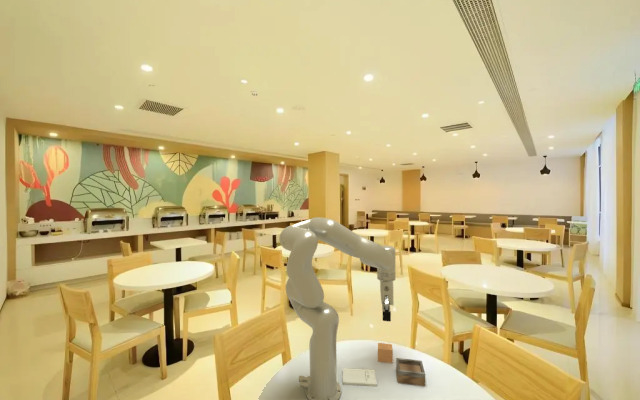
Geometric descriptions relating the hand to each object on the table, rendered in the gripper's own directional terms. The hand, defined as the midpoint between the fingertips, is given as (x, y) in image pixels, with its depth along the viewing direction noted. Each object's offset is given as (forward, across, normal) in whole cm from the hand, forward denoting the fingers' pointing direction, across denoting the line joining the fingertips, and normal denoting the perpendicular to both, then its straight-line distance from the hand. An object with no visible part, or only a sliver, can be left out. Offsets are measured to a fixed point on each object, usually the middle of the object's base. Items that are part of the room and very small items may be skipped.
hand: (386, 315), depth 115 cm
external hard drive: (+19, -14, +10) cm, 26 cm away
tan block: (+19, 0, +1) cm, 19 cm away
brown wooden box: (+19, -10, -8) cm, 23 cm away
